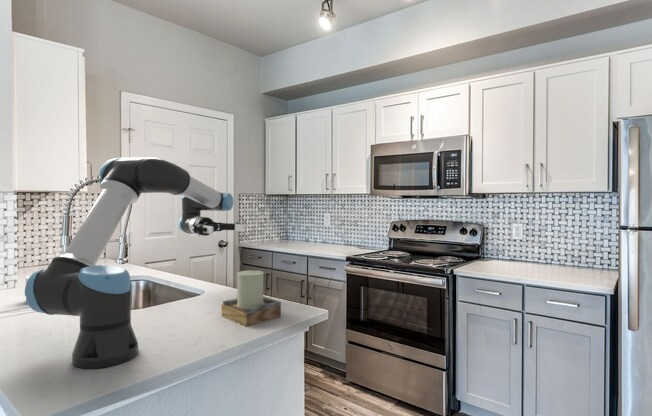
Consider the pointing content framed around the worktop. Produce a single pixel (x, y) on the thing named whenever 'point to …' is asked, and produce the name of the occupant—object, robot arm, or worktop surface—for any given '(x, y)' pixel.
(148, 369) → the worktop surface
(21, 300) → the worktop surface
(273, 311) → the brown wooden tray
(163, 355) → the worktop surface
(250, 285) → the can
